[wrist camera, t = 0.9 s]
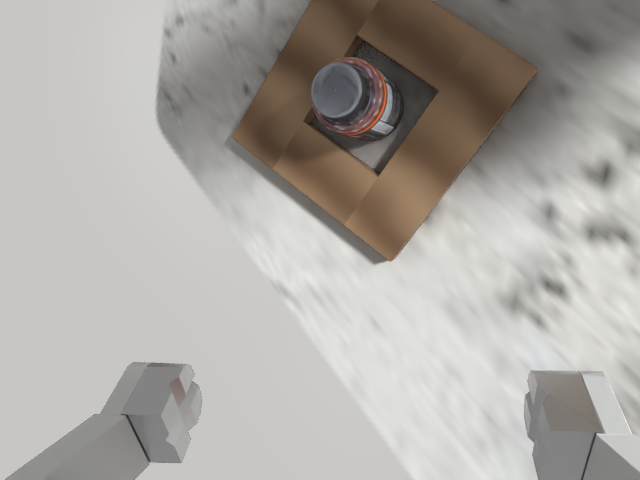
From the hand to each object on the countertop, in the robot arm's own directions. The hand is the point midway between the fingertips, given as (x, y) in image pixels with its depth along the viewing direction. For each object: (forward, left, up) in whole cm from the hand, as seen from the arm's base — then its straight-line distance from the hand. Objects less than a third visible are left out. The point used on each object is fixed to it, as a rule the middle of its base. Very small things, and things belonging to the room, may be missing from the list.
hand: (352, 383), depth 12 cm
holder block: (-4, -14, -36) cm, 39 cm away
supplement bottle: (-4, -14, -36) cm, 39 cm away
